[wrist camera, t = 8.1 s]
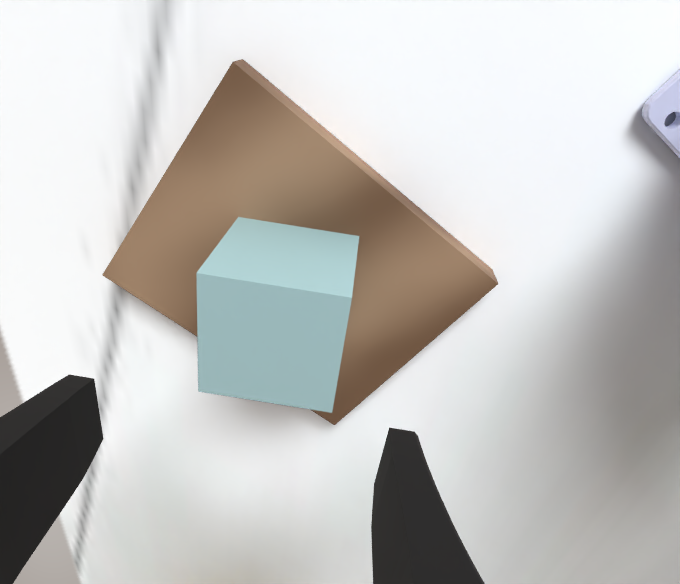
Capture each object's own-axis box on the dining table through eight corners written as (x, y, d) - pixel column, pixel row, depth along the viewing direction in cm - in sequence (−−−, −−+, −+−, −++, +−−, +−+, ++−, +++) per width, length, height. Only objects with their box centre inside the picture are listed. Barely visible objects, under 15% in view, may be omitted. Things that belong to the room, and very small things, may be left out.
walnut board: (492, 269, 19) (498, 283, 18) (336, 407, 23) (334, 425, 22) (242, 59, 16) (233, 62, 15) (116, 262, 20) (102, 275, 19)
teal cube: (359, 236, 18) (351, 297, 14) (342, 335, 20) (332, 412, 16) (238, 216, 18) (196, 273, 14) (235, 318, 20) (198, 391, 16)
